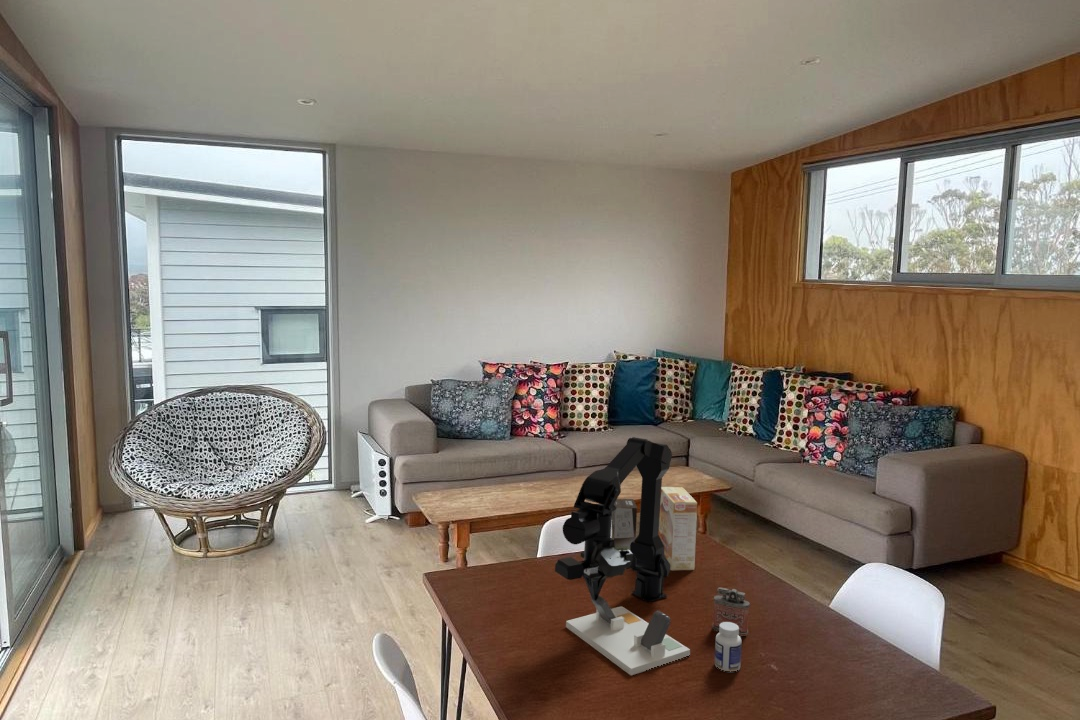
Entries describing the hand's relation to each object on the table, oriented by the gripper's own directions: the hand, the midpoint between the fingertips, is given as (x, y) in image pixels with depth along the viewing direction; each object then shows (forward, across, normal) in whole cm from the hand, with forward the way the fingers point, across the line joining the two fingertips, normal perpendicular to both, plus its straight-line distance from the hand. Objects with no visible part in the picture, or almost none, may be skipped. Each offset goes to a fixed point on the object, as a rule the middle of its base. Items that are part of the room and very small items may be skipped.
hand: (594, 600), depth 170 cm
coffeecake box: (+7, +47, +25) cm, 54 cm away
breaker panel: (+8, +5, -6) cm, 11 cm away
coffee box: (+7, +35, +34) cm, 49 cm away
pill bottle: (+8, +17, -25) cm, 31 cm away
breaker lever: (+6, +5, 0) cm, 7 cm away
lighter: (+8, +29, -14) cm, 33 cm away
